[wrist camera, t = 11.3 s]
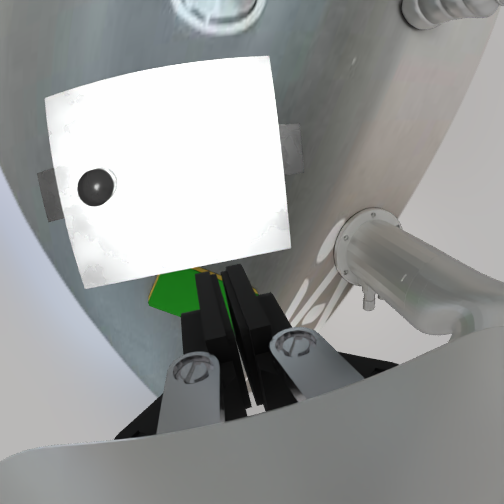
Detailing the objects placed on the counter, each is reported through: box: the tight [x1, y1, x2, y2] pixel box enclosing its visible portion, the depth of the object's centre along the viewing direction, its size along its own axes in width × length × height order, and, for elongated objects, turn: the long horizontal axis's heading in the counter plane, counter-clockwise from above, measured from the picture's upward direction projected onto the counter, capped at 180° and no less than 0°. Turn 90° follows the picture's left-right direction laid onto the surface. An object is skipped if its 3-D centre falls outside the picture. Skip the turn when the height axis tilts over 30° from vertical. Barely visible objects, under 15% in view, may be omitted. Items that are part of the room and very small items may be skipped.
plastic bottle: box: [402, 0, 504, 30], centre depth 26 cm, size 6×7×20 cm
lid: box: [45, 56, 291, 289], centre depth 25 cm, size 18×20×3 cm
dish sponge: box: [148, 267, 258, 332], centre depth 44 cm, size 7×14×2 cm, turn 61°
